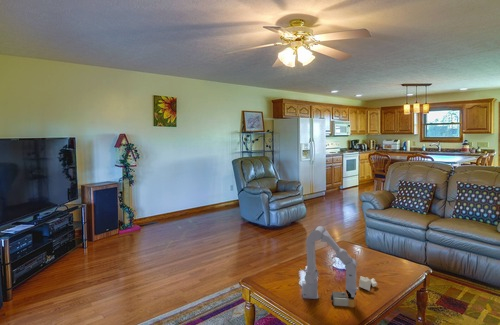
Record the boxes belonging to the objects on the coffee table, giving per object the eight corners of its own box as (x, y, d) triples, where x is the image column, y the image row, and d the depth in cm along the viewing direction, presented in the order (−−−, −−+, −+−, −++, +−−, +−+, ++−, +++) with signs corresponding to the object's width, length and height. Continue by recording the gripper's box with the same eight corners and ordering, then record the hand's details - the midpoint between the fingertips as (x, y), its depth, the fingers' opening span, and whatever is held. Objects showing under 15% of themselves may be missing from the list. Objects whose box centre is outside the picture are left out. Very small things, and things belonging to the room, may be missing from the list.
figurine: (369, 281, 188) (381, 278, 197) (356, 275, 195) (367, 273, 205) (368, 292, 188) (379, 289, 197) (354, 287, 195) (366, 283, 204)
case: (331, 304, 177) (331, 295, 176) (330, 299, 183) (330, 290, 182) (347, 305, 176) (347, 296, 175) (345, 299, 182) (345, 291, 181)
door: (333, 306, 175) (333, 298, 174) (333, 304, 176) (333, 297, 176) (354, 307, 173) (354, 299, 173) (353, 306, 174) (354, 298, 174)
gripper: (361, 287, 166) (360, 310, 168) (355, 274, 181) (355, 296, 182) (347, 286, 167) (347, 309, 169) (343, 274, 182) (343, 295, 183)
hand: (350, 302), depth 175 cm, fingers closed, pressing on case
